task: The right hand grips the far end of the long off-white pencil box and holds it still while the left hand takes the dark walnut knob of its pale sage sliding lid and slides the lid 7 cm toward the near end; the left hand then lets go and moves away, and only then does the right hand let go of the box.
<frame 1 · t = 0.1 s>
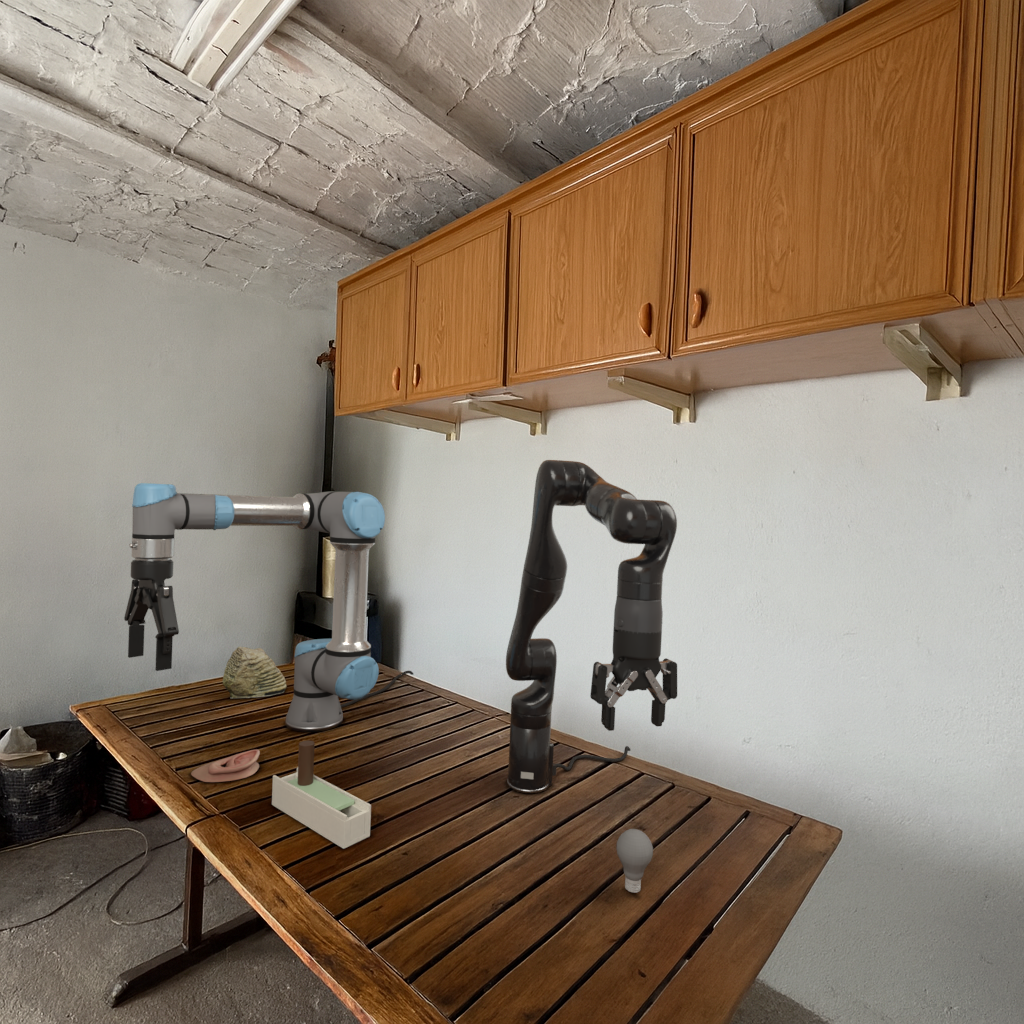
left hand: (149, 662, 129), 28 cm above the table, fingers open, 13 cm apart
right hand: (632, 726, 101), 29 cm above the table, fingers open, 8 cm apart
fossil: (254, 694, 198), on the table
anatomical model: (225, 772, 143), on the table
sliding lid: (319, 794, 124), point 5 cm above the table, touching pencil box
light bulb: (632, 891, 106), on the table
pencil box: (318, 819, 124), on the table, touching sliding lid
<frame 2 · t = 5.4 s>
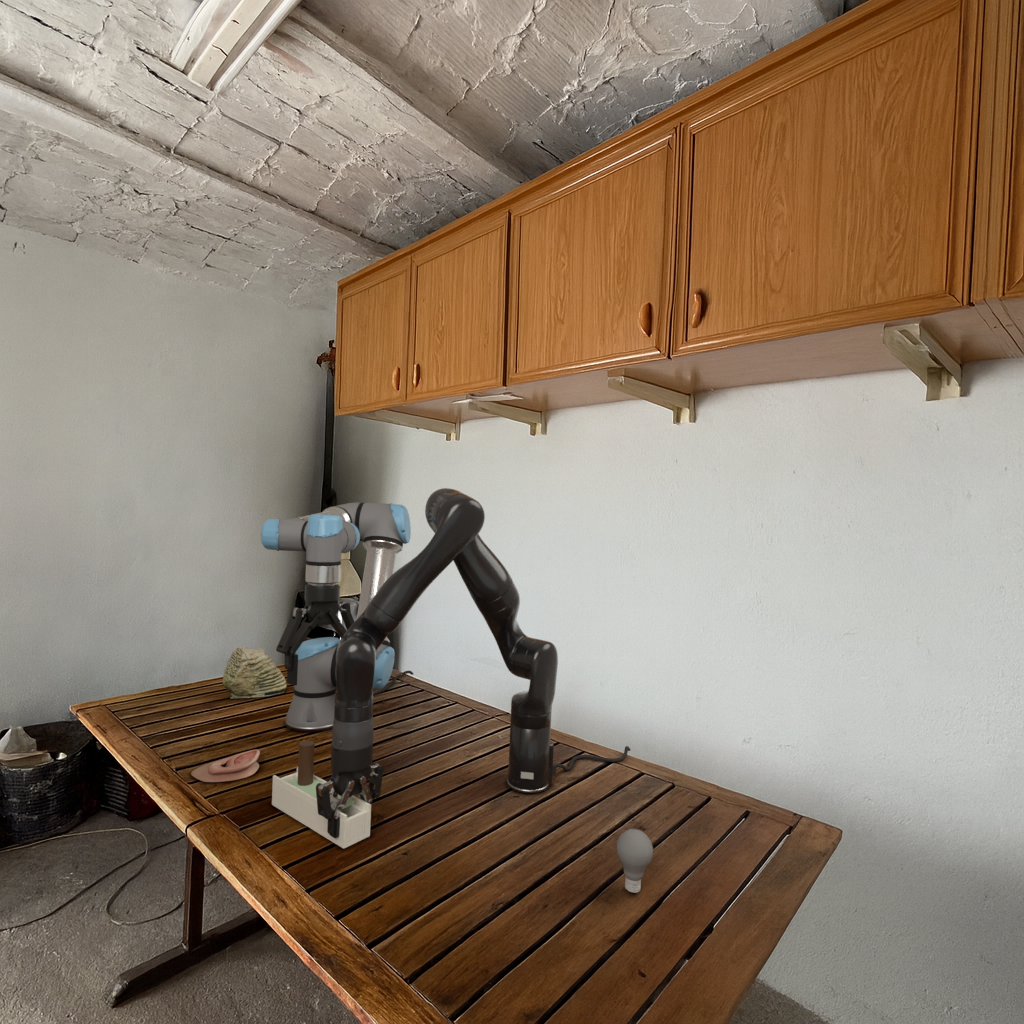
left hand: (319, 678, 142), 23 cm above the table, fingers open, 13 cm apart
right hand: (349, 829, 118), 2 cm above the table, fingers closed on pencil box, 6 cm apart
pencil box: (318, 819, 124), on the table, touching right hand, sliding lid
everything else where it was.
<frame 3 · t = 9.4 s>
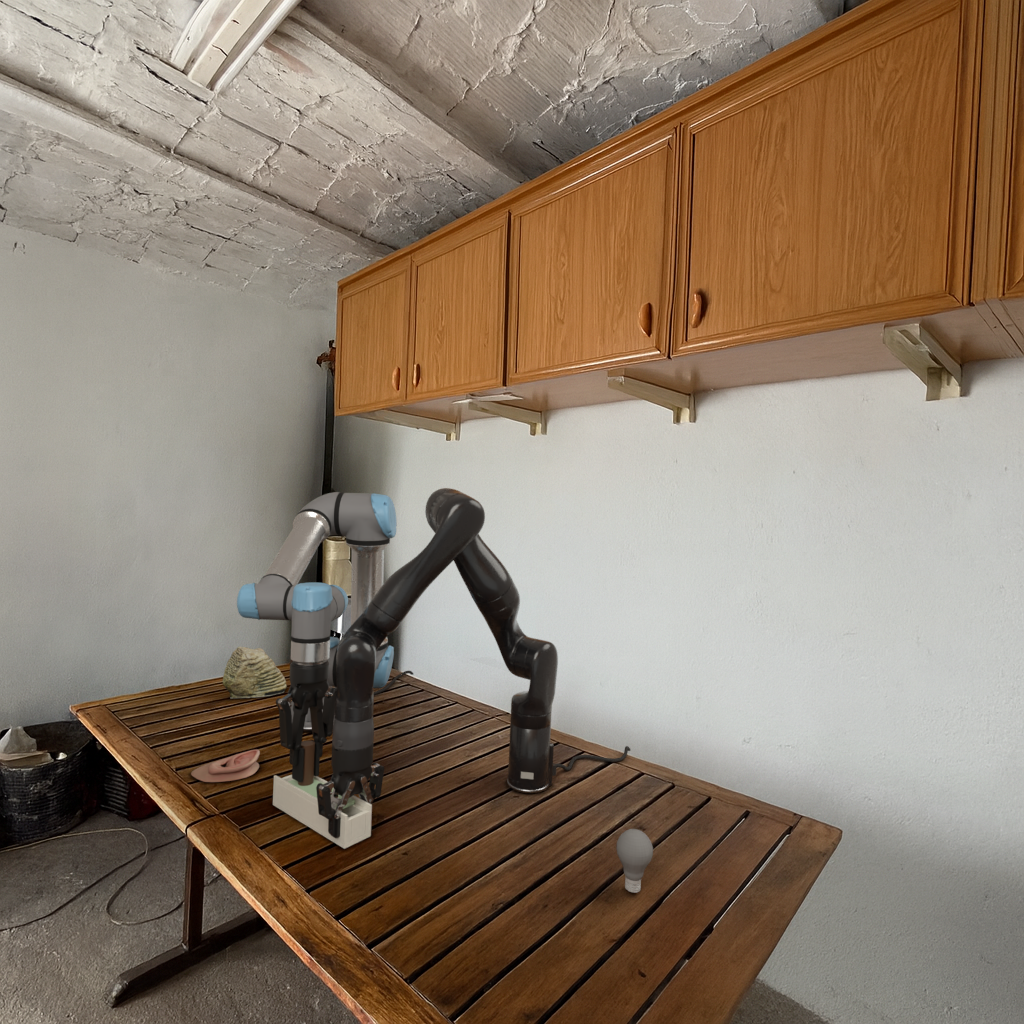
left hand: (305, 776, 127), 7 cm above the table, fingers closed on sliding lid, 3 cm apart
right hand: (349, 829, 118), 2 cm above the table, fingers closed on pencil box, 6 cm apart
sliding lid: (320, 794, 124), point 5 cm above the table, touching left hand
pencil box: (319, 819, 124), on the table, touching right hand
everything else where it was.
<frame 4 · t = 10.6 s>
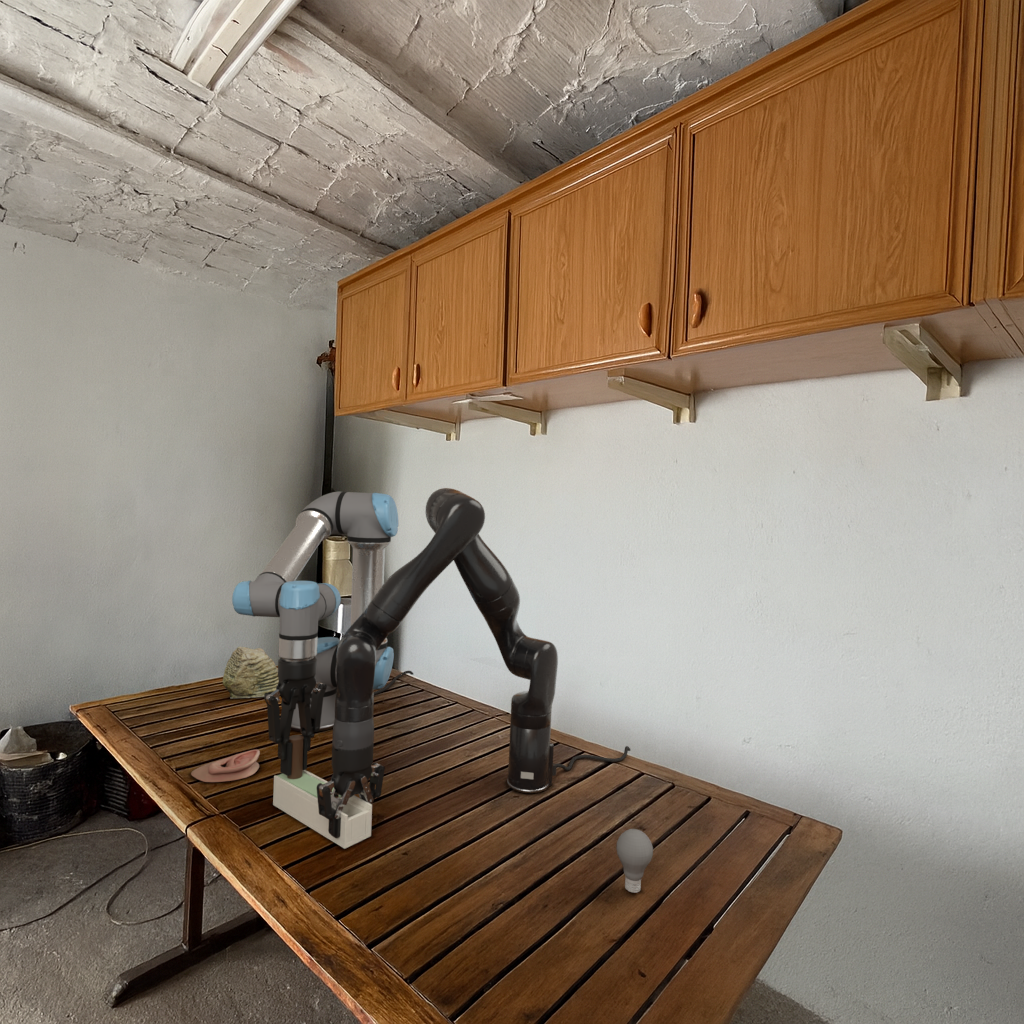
left hand: (293, 770, 130), 7 cm above the table, fingers closed on sliding lid, 3 cm apart
right hand: (350, 829, 118), 2 cm above the table, fingers closed on pencil box, 6 cm apart
sliding lid: (309, 787, 127), point 5 cm above the table, touching left hand, pencil box
pencil box: (319, 819, 124), on the table, touching right hand, sliding lid
everything else where it was.
when the left hand's fingers open (7 cm above the table, at t = 12.0 s): sliding lid stays where it is, resting on pencil box.
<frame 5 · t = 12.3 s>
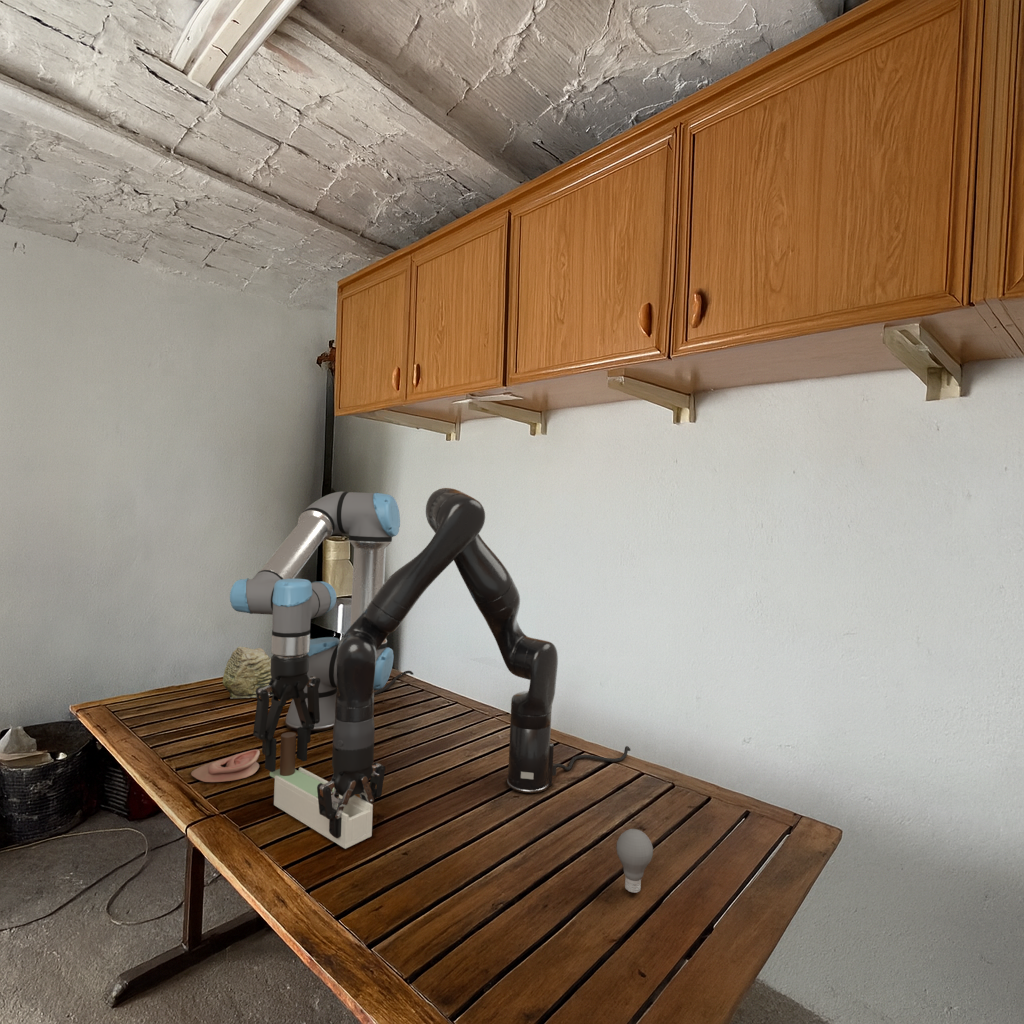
left hand: (286, 764, 132), 7 cm above the table, fingers open, 7 cm apart
right hand: (350, 829, 118), 2 cm above the table, fingers closed on pencil box, 6 cm apart
sliding lid: (301, 784, 128), point 5 cm above the table, touching pencil box
pencil box: (320, 820, 124), on the table, touching right hand, sliding lid
everything else where it was.
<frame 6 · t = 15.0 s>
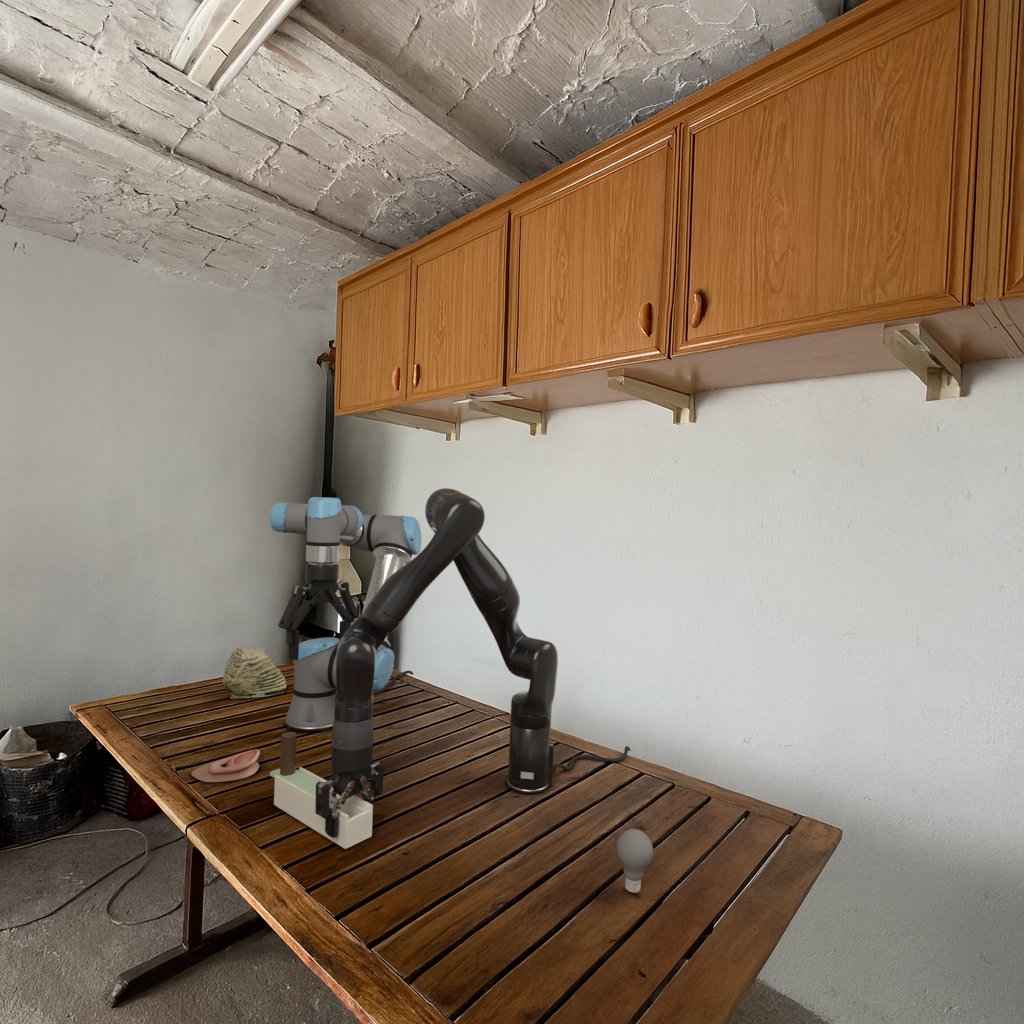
left hand: (319, 653, 148), 26 cm above the table, fingers open, 13 cm apart
right hand: (349, 827, 118), 2 cm above the table, fingers open, 7 cm apart
pencil box: (320, 819, 124), on the table, touching sliding lid
everything else where it was.
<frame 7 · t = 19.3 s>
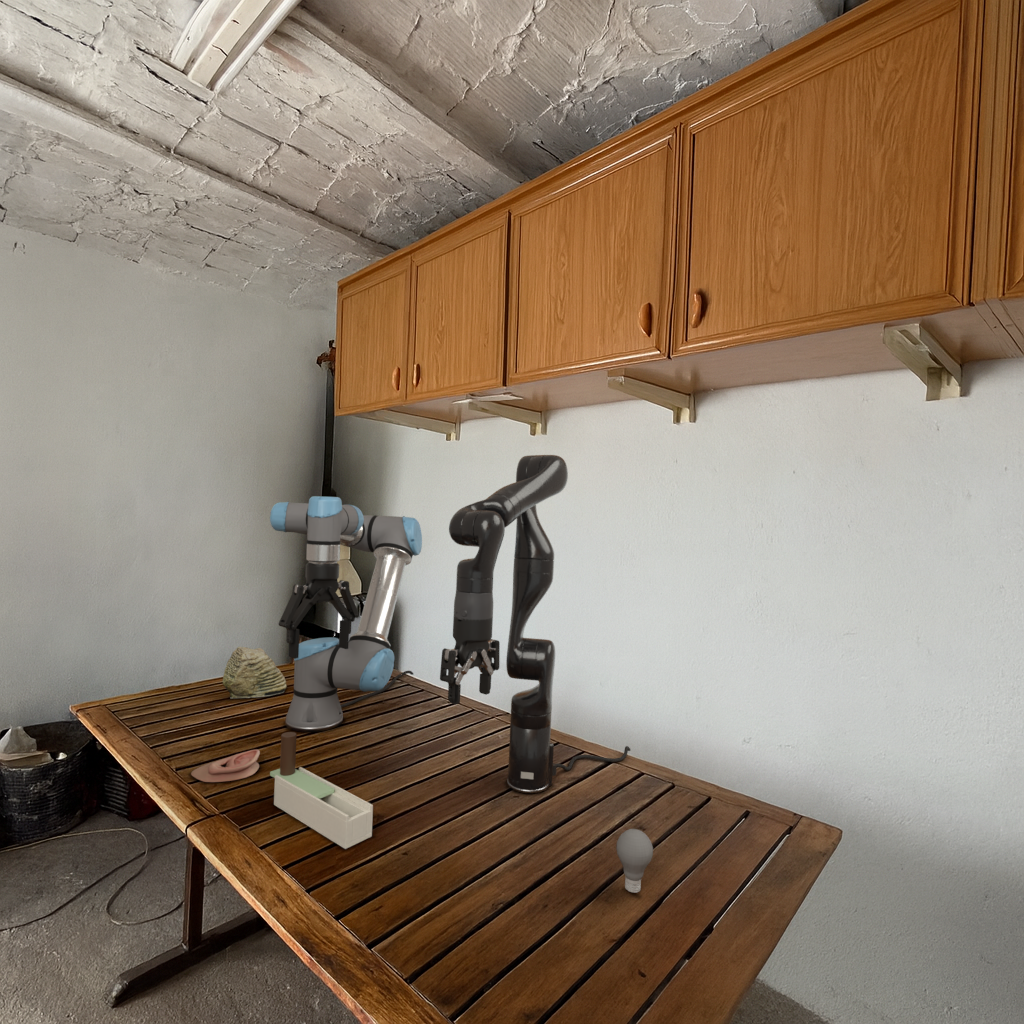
left hand: (319, 652, 149), 27 cm above the table, fingers open, 13 cm apart
right hand: (469, 698, 121), 26 cm above the table, fingers open, 8 cm apart
nothing on the table moved.
at the end: sliding lid 0.1 cm from the target spot on the pencil box, point 5.0 cm above the pencil box's base; pencil box moved 0.4 cm from its start; the left hand is holding nothing; the right hand is holding nothing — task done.
